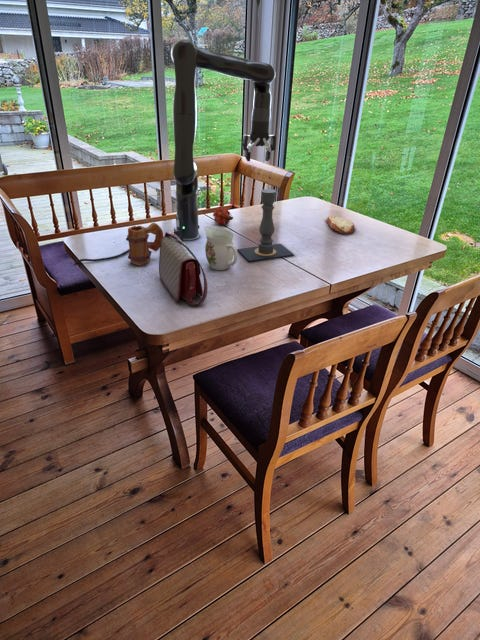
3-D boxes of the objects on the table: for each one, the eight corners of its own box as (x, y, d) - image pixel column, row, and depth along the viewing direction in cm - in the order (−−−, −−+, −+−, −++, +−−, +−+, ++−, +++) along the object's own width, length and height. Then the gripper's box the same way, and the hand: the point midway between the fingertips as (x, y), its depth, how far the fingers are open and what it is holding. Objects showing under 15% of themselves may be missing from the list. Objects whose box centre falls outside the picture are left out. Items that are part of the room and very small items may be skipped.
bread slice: (329, 218, 229) (330, 211, 227) (363, 225, 220) (364, 218, 218) (313, 227, 216) (313, 220, 214) (347, 236, 207) (349, 228, 205)
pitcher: (225, 279, 166) (225, 243, 159) (196, 263, 178) (194, 230, 171) (247, 271, 173) (248, 236, 165) (217, 256, 184) (217, 224, 177)
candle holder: (272, 254, 185) (275, 193, 172) (257, 253, 186) (259, 192, 173) (274, 249, 190) (277, 189, 177) (259, 247, 191) (261, 188, 178)
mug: (131, 268, 173) (127, 231, 165) (125, 261, 179) (121, 224, 171) (167, 262, 179) (165, 225, 171) (161, 254, 185) (158, 219, 177)
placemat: (249, 262, 180) (249, 260, 179) (237, 250, 190) (237, 248, 190) (293, 255, 186) (294, 254, 186) (280, 244, 197) (280, 243, 196)
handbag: (212, 305, 149) (211, 256, 140) (181, 311, 145) (179, 261, 136) (184, 272, 171) (182, 228, 162) (157, 276, 167) (153, 231, 158)
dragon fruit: (217, 222, 226) (228, 232, 218) (205, 214, 220) (216, 225, 212) (227, 207, 224) (239, 218, 216) (215, 199, 218) (227, 210, 210)
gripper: (248, 120, 178) (245, 163, 186) (280, 121, 183) (276, 162, 191) (241, 118, 184) (238, 159, 192) (272, 118, 189) (269, 159, 197)
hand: (257, 161), depth 192 cm, fingers open, 8 cm apart
